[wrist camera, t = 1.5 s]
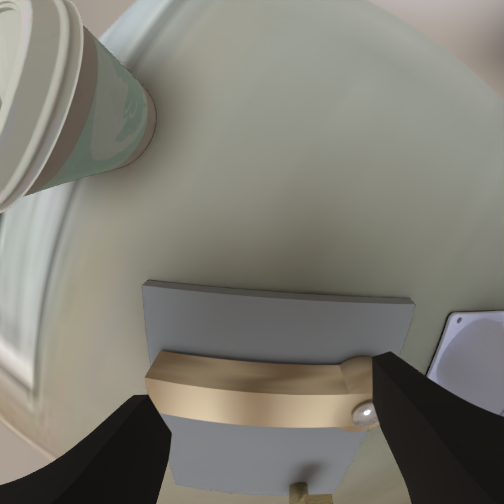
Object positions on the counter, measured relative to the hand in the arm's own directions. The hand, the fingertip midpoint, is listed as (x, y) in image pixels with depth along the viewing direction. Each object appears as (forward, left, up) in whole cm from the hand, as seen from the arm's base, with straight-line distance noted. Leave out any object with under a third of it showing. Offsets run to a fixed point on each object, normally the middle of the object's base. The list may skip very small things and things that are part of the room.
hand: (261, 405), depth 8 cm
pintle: (-7, +6, -6) cm, 11 cm away
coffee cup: (+10, -10, -10) cm, 17 cm away
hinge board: (-1, +13, -10) cm, 16 cm away
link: (-1, +6, -9) cm, 11 cm away
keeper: (-6, +20, -9) cm, 23 cm away
